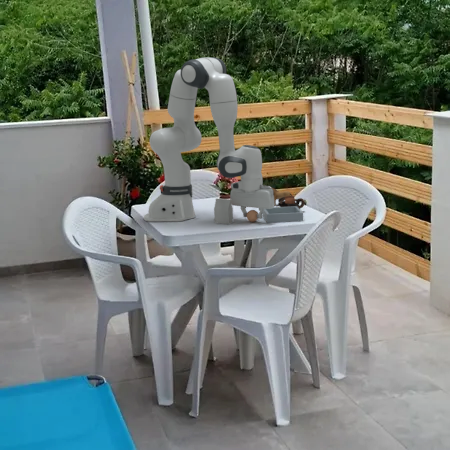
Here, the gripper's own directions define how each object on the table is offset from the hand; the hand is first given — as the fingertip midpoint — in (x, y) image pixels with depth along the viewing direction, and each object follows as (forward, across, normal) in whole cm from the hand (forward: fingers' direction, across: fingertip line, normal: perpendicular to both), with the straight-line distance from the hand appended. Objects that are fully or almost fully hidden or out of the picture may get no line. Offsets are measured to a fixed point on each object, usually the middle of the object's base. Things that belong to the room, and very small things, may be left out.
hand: (252, 217), depth 323 cm
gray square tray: (+2, -7, -12) cm, 14 cm away
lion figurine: (+2, +10, -36) cm, 38 cm away
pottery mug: (+2, -2, -26) cm, 26 cm away
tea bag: (+2, +10, +7) cm, 12 cm away
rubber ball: (+2, 0, 0) cm, 2 cm away
